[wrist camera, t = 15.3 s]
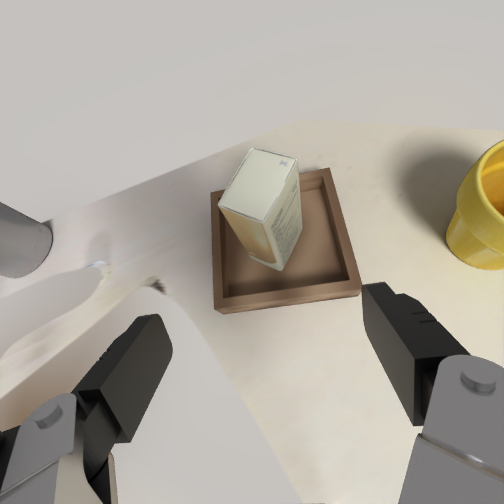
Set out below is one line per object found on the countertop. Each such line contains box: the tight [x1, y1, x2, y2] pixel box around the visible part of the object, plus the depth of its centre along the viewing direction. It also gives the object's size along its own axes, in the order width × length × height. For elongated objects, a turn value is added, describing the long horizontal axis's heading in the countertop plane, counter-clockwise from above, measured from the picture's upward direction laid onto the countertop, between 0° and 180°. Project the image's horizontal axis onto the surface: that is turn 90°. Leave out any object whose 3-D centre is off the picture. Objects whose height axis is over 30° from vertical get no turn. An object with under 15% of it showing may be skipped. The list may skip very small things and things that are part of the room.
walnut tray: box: [211, 168, 362, 314], centre depth 30 cm, size 15×15×3 cm
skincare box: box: [218, 148, 303, 271], centre depth 25 cm, size 6×4×12 cm
